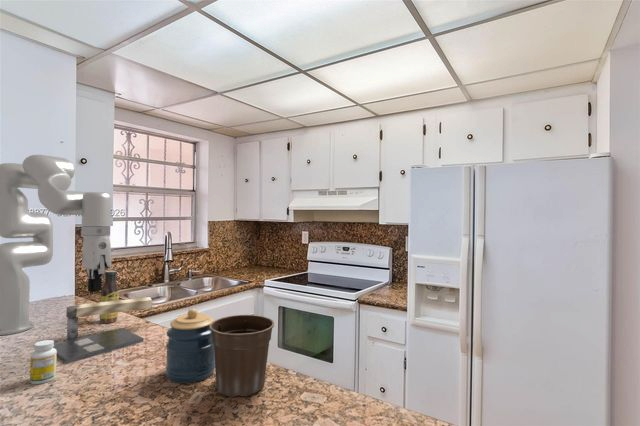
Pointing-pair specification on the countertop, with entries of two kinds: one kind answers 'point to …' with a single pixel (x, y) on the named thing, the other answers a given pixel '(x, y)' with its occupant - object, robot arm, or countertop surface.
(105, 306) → the swing arm
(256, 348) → the plant pot
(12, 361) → the countertop surface
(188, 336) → the canister
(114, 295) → the bottle
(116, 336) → the label board
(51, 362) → the supplement bottle
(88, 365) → the countertop surface
